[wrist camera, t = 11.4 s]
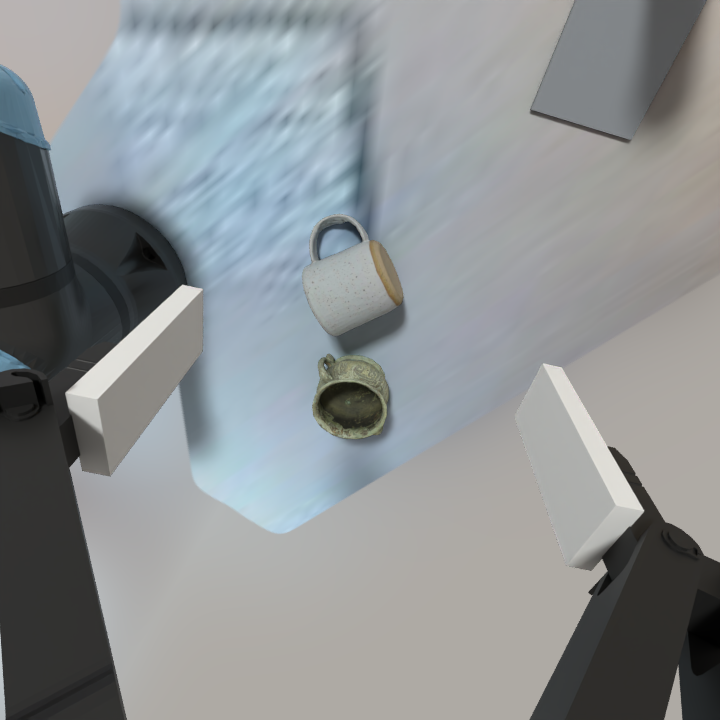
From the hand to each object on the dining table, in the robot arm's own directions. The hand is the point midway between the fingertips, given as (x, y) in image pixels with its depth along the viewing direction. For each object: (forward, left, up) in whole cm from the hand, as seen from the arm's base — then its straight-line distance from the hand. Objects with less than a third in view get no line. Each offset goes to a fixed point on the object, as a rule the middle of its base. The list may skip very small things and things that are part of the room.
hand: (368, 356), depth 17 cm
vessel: (+2, -22, -30) cm, 37 cm away
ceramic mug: (-3, -8, -30) cm, 31 cm away
